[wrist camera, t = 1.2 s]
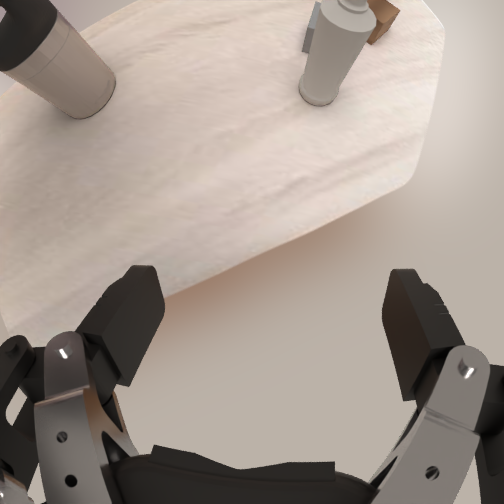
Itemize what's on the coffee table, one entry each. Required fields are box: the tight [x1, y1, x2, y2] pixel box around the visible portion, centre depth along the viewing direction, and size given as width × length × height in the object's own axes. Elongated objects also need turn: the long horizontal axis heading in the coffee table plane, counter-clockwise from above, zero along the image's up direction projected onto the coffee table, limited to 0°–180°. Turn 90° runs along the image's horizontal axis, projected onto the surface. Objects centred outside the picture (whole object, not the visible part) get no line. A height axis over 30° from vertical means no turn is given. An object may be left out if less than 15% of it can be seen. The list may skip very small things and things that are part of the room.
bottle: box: [299, 0, 376, 106], centre depth 22 cm, size 5×5×25 cm
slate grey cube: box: [302, 2, 321, 53], centre depth 31 cm, size 6×6×6 cm
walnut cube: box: [366, 0, 400, 45], centre depth 31 cm, size 6×6×6 cm
